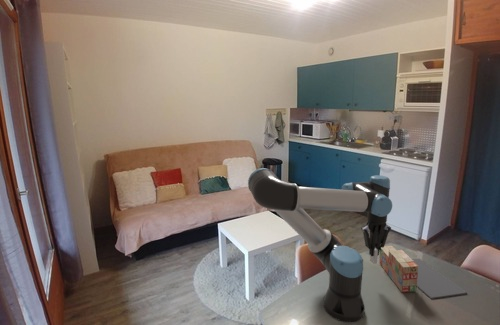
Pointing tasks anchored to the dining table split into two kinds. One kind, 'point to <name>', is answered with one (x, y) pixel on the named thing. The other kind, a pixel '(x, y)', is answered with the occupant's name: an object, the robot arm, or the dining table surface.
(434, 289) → the mat
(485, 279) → the dining table surface
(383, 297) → the dining table surface
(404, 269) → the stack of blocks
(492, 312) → the dining table surface
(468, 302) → the dining table surface
